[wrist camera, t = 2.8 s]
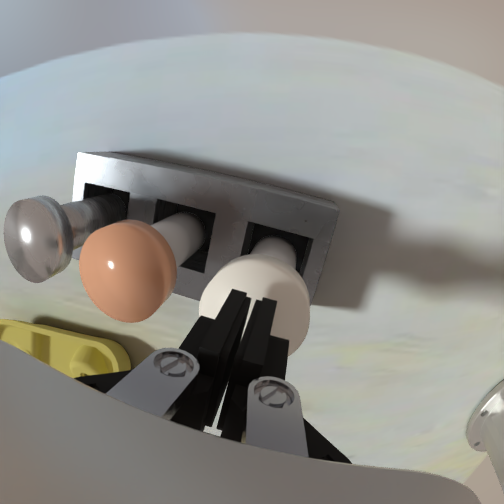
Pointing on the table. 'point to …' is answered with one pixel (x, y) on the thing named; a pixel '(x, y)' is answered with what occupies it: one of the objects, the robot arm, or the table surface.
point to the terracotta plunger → (137, 263)
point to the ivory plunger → (265, 287)
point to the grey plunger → (54, 231)
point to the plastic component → (66, 348)
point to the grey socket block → (210, 199)
